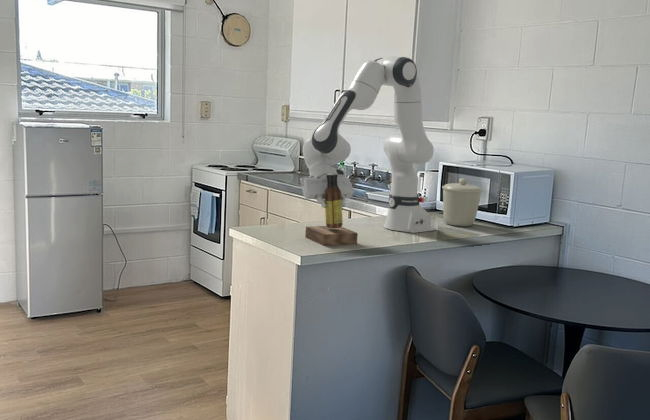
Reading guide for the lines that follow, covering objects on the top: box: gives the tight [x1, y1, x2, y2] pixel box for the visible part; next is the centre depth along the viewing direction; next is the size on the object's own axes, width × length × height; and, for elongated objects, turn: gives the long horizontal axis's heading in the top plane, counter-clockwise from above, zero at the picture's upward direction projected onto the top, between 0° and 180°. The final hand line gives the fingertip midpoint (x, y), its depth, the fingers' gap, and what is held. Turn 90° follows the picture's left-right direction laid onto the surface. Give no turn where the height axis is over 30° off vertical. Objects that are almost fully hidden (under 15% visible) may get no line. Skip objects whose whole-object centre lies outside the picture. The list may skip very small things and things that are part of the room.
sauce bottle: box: [324, 173, 343, 228], centre depth 235 cm, size 7×6×20 cm
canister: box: [441, 177, 484, 227], centre depth 287 cm, size 18×18×21 cm
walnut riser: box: [304, 225, 359, 247], centre depth 238 cm, size 14×14×4 cm
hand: (334, 206), depth 235 cm, fingers closed on sauce bottle, 6 cm apart
